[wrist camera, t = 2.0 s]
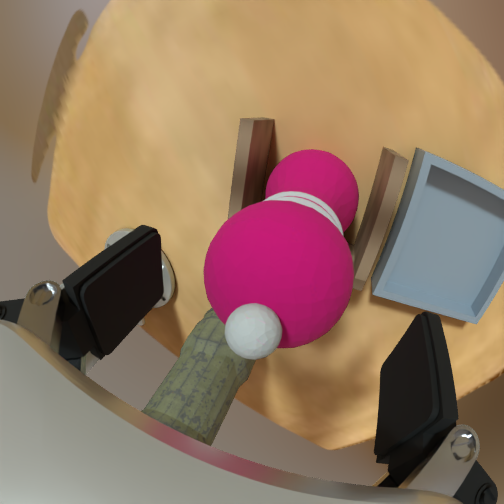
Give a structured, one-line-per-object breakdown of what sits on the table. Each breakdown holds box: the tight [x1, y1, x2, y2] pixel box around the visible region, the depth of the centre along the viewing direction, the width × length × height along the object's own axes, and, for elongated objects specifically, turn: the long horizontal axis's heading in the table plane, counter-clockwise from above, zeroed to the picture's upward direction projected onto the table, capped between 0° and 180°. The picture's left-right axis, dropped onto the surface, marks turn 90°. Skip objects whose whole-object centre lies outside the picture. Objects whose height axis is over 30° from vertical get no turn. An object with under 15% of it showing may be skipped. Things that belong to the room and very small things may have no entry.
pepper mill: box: [204, 149, 359, 360], centre depth 16 cm, size 7×7×20 cm
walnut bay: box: [228, 118, 408, 291], centre depth 22 cm, size 11×12×6 cm
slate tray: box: [371, 148, 504, 324], centre depth 20 cm, size 14×14×3 cm
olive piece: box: [141, 308, 256, 446], centre depth 22 cm, size 9×12×35 cm
